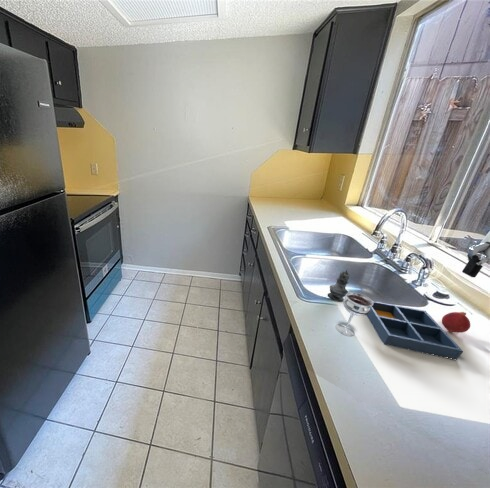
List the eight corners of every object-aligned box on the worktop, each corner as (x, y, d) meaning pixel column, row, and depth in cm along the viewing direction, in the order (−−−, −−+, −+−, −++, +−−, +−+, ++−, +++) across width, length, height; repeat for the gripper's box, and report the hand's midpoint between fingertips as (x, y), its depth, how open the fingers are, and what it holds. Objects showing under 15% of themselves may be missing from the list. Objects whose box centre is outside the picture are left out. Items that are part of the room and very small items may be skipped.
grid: (420, 318, 86) (425, 310, 85) (456, 360, 71) (463, 351, 70) (361, 307, 90) (365, 299, 89) (383, 344, 75) (388, 335, 74)
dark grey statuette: (323, 292, 98) (333, 265, 92) (338, 293, 98) (350, 265, 92) (332, 302, 92) (343, 273, 87) (348, 302, 92) (361, 274, 87)
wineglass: (343, 320, 84) (357, 290, 78) (363, 335, 78) (379, 304, 73) (327, 324, 82) (340, 293, 76) (347, 340, 76) (362, 308, 71)
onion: (437, 331, 81) (450, 311, 78) (436, 322, 85) (449, 303, 82) (463, 341, 78) (478, 321, 74) (461, 331, 82) (476, 312, 78)
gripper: (507, 224, 64) (468, 281, 71) (576, 228, 64) (530, 284, 71) (475, 214, 71) (443, 267, 78) (538, 217, 71) (499, 270, 78)
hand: (484, 275), depth 75 cm, fingers open, 9 cm apart
